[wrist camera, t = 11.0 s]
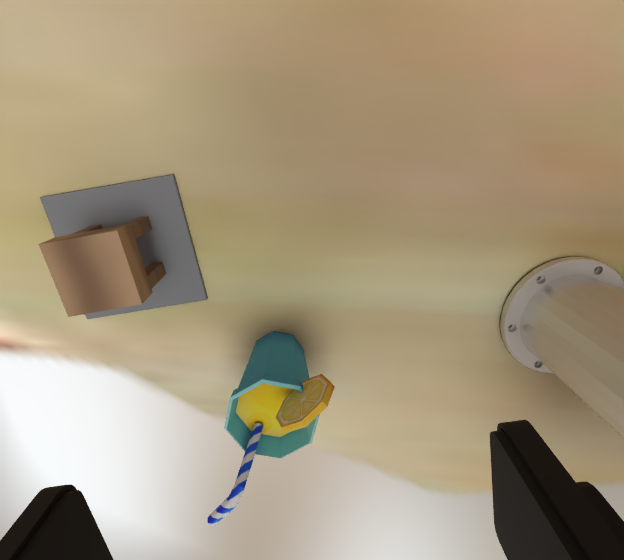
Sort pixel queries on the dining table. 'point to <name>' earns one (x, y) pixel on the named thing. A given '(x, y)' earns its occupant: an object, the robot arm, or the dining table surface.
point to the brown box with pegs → (101, 267)
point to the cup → (273, 407)
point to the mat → (152, 245)
